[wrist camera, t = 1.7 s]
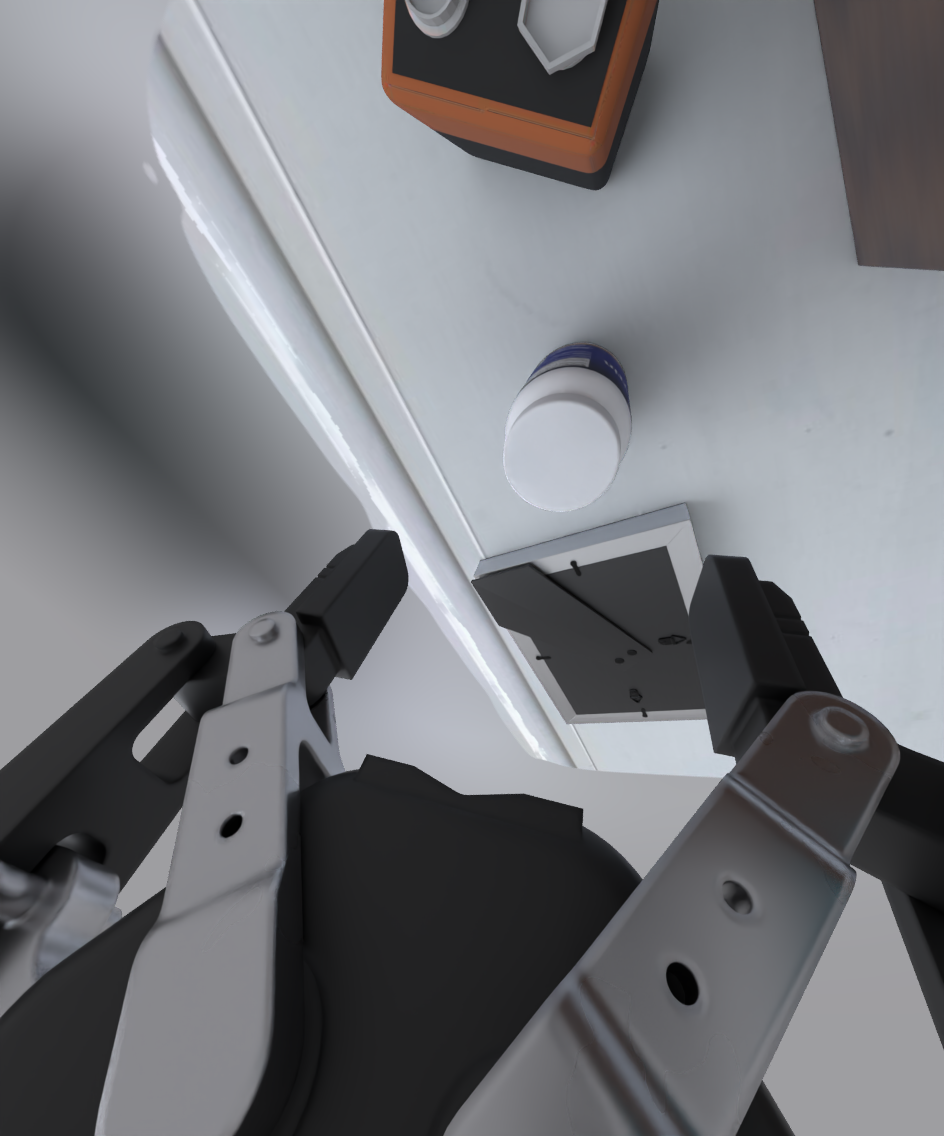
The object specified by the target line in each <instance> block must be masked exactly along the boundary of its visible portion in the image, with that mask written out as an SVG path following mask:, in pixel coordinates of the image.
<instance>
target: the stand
mask: <svg viewBox="0 0 944 1136" xmlns="http://www.w3.org/2000/svg"><path fill="white" fill-rule="evenodd" d="M814 3H815V9H816V15H817V21H818V27H819V33H820V39H821V45H822V51H823V57H824V63H825V69H826V75H827V81H828V87H829V93H830V98H831V104H832V110H833V116H834V122H835V128H836V134H837V140H838V146H839V152H840V158H841V164H842V170H843V176H844V182H845V188H846V194H847V200H848V206H849V212H850V218H851V224H852V230H853V236H854V242H855V248H856V254H857V260H858V265H859V266H873V267H889V268H905V269H921V270H938V271H944V0H814Z"/></svg>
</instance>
